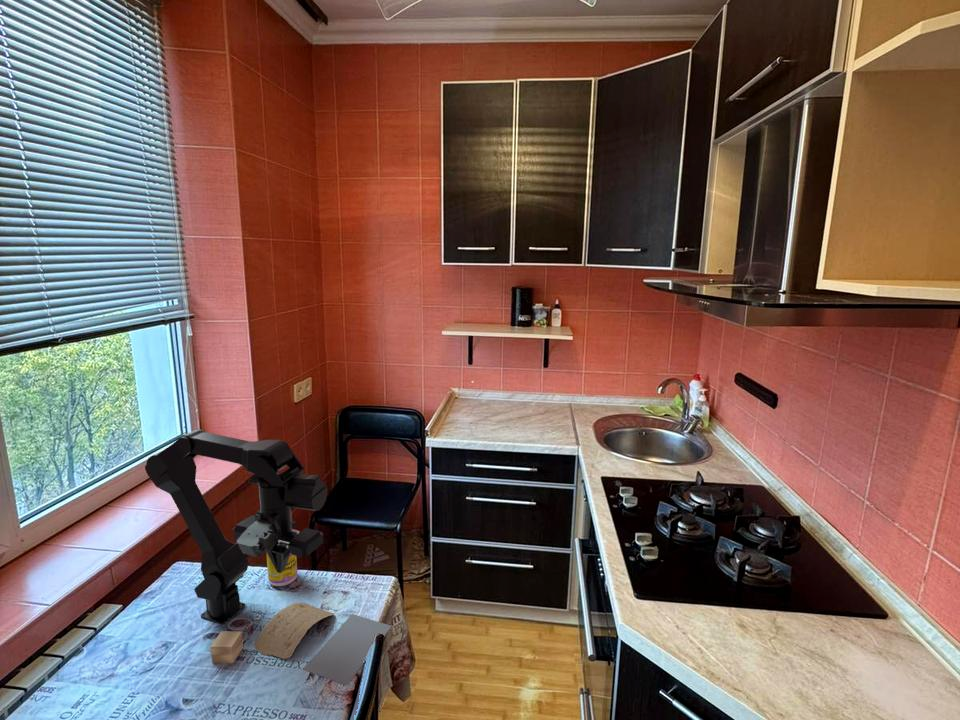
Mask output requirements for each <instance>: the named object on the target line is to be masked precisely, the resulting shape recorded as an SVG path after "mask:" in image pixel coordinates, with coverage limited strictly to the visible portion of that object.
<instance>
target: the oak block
mask: <svg viewBox="0 0 960 720" xmlns="http://www.w3.org/2000/svg"><path fill="white" fill-rule="evenodd" d="M242 634H243V633H242V631H233V630H232V631H224V630H221V631H220V633H219V634H218V635H217V637H216V638H215V639H214V640H213V642H212V644H211V645H210V654H211V663H212V664H234V662H235V661H236V659H237V658H238V656H239V655H240V653H241V651H242V650H243V648H244V645H243V635H242Z"/></svg>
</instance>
